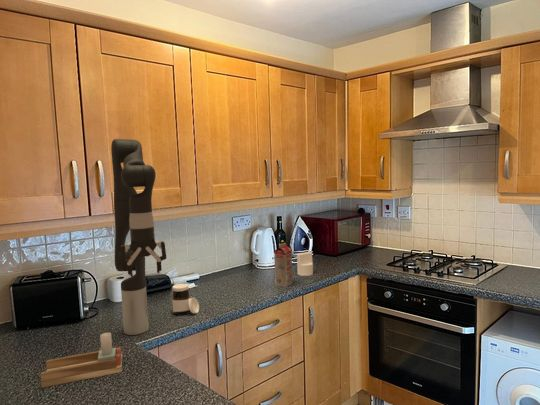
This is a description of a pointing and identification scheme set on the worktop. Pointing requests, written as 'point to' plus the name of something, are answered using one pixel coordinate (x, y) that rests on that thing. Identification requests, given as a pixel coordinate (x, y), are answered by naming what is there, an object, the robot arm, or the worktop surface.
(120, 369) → the track
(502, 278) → the worktop surface
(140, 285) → the robot arm
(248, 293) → the worktop surface
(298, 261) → the cylinder with rectangular tab
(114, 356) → the slider
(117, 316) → the worktop surface
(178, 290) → the spread jar
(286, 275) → the juice carton
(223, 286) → the worktop surface
